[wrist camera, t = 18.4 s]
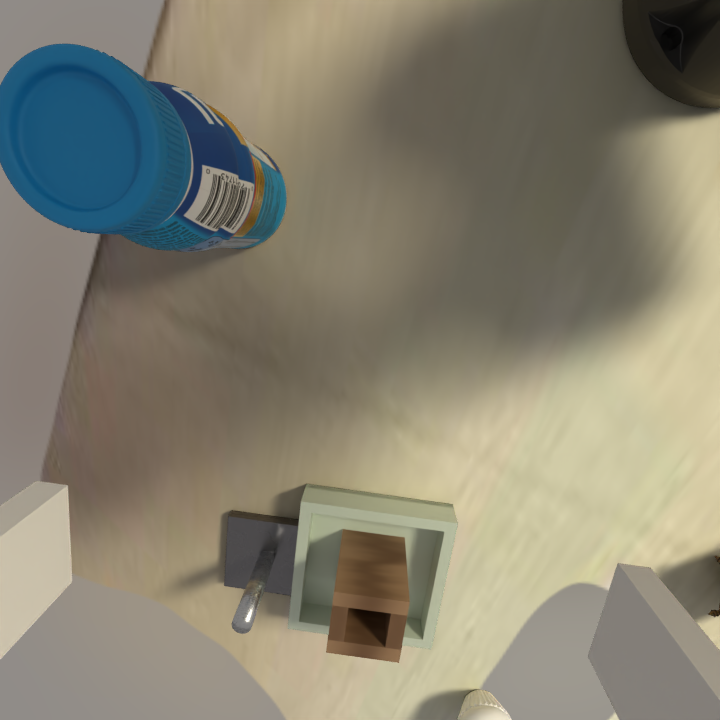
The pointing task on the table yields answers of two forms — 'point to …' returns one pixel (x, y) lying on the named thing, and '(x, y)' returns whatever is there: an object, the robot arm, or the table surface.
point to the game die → (715, 612)
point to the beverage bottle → (132, 155)
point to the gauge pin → (258, 560)
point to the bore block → (369, 597)
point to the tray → (381, 516)
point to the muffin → (482, 707)
